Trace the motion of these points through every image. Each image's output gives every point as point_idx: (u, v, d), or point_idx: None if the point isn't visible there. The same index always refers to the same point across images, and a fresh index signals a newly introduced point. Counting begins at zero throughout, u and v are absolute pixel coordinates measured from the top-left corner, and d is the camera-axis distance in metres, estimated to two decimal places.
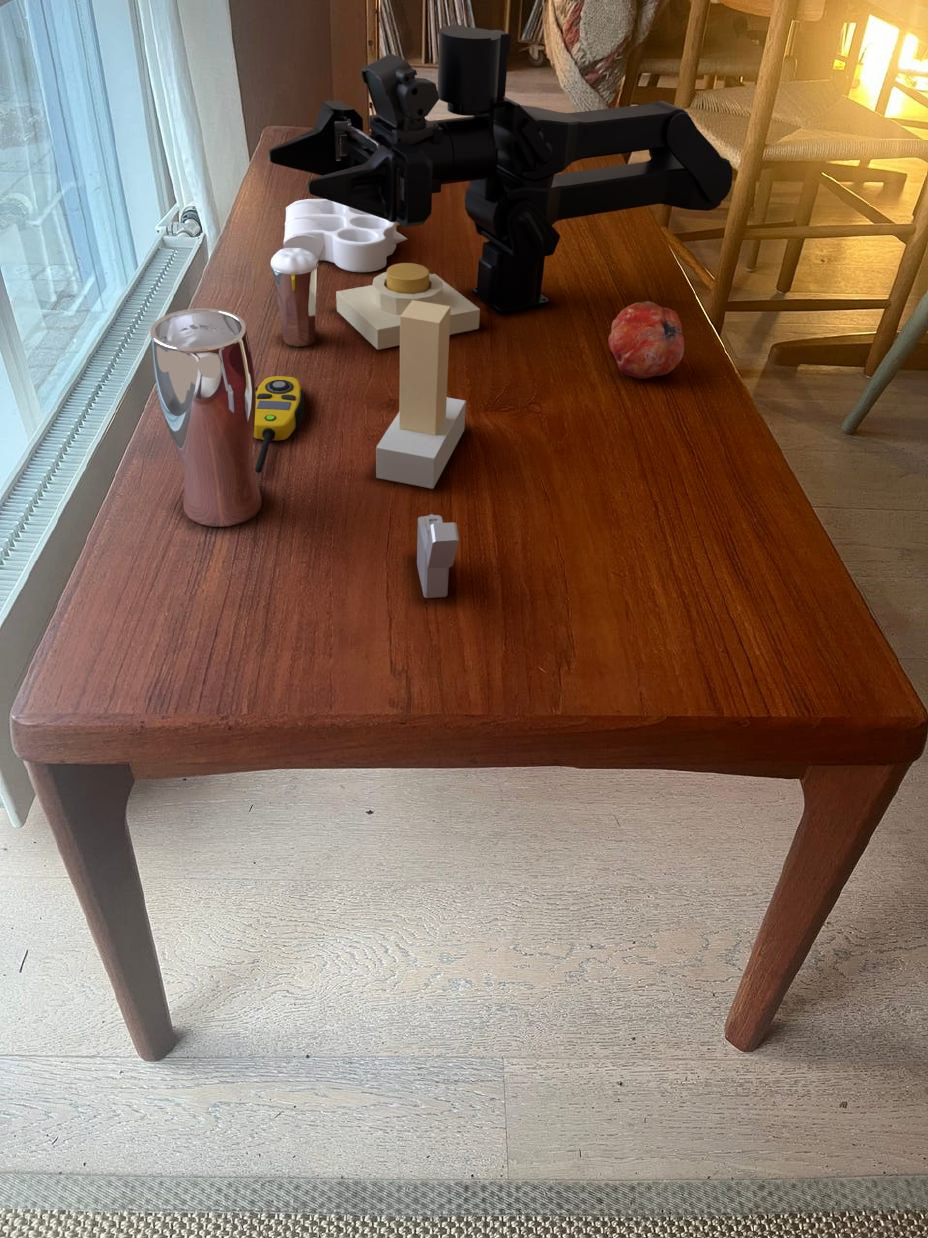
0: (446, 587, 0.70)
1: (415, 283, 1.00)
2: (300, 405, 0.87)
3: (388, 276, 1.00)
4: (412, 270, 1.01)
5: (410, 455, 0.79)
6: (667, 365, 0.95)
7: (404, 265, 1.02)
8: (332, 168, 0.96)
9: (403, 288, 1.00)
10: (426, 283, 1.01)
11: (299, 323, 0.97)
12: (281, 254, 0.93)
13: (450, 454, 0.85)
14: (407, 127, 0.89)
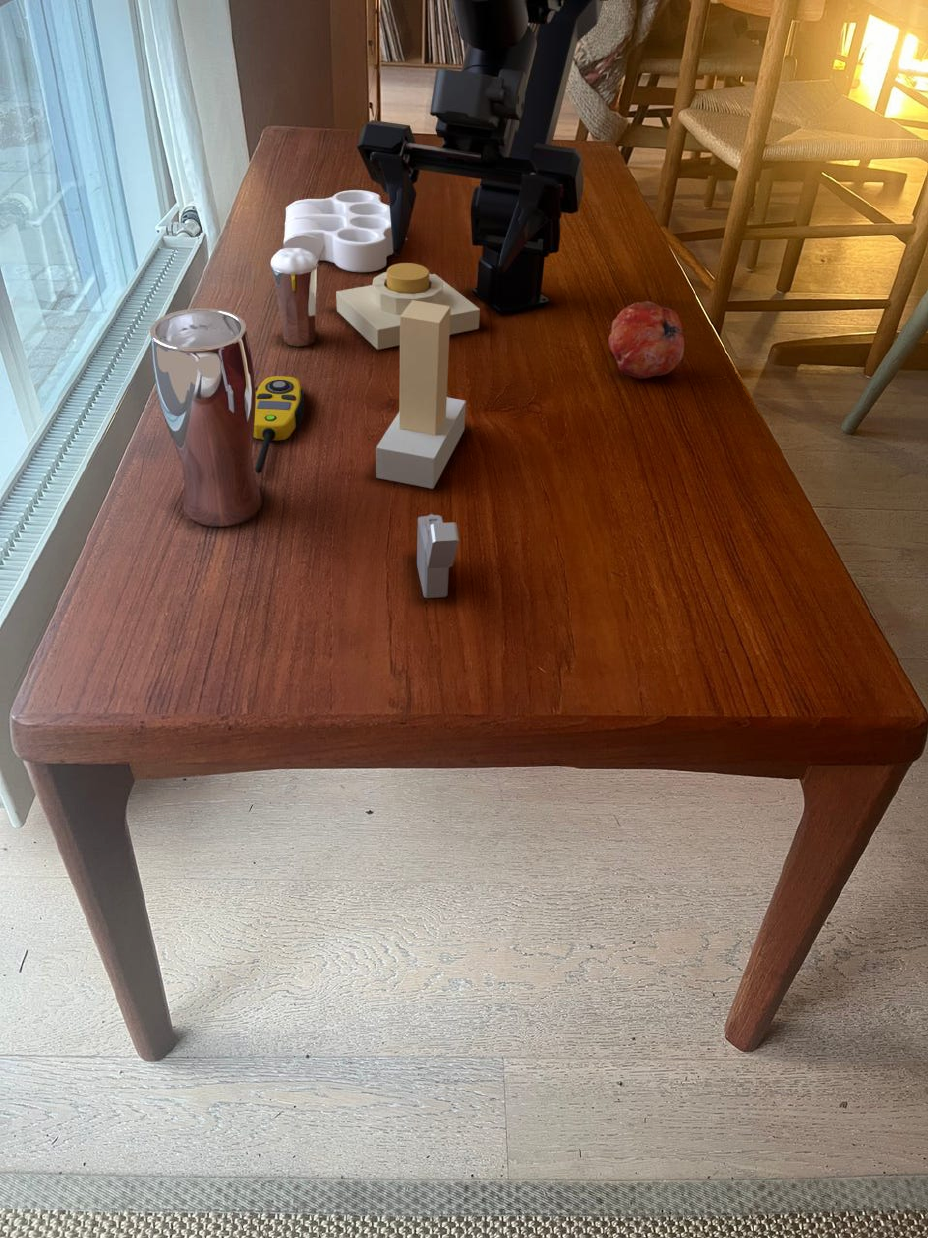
0: (446, 587, 0.70)
1: (415, 283, 1.00)
2: (300, 405, 0.87)
3: (388, 276, 1.00)
4: (412, 270, 1.01)
5: (410, 455, 0.79)
6: (667, 365, 0.95)
7: (404, 265, 1.02)
8: (414, 192, 0.85)
9: (403, 288, 1.00)
10: (426, 283, 1.01)
11: (299, 323, 0.97)
12: (281, 254, 0.93)
13: (450, 454, 0.85)
14: (503, 121, 0.79)
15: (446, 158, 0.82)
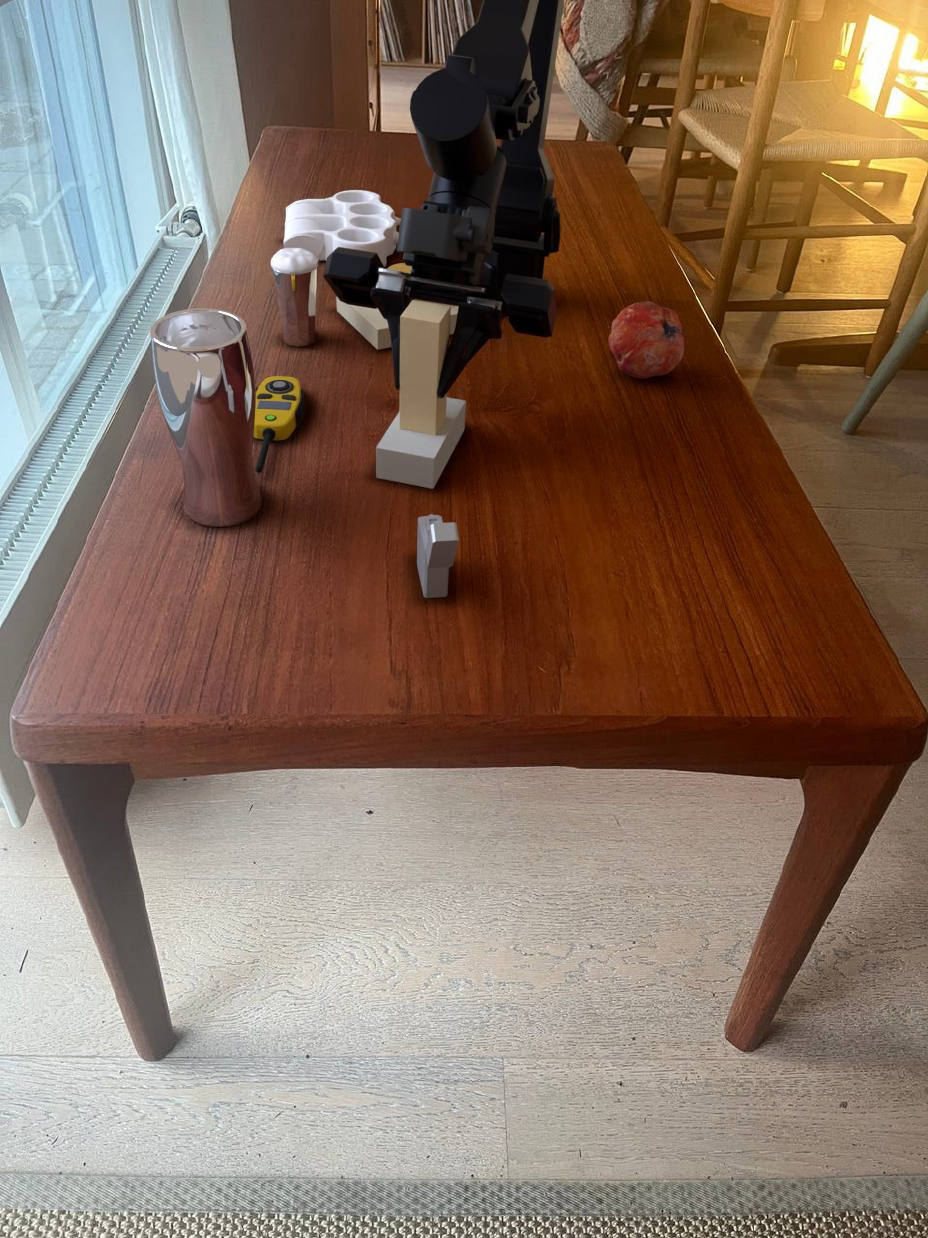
0: (446, 587, 0.70)
1: None
2: (300, 405, 0.87)
3: None
4: None
5: (410, 454, 0.79)
6: (667, 365, 0.95)
7: (404, 265, 1.02)
8: None
9: None
10: None
11: (299, 323, 0.97)
12: (281, 254, 0.93)
13: (450, 454, 0.85)
14: (472, 253, 0.76)
15: (415, 285, 0.80)
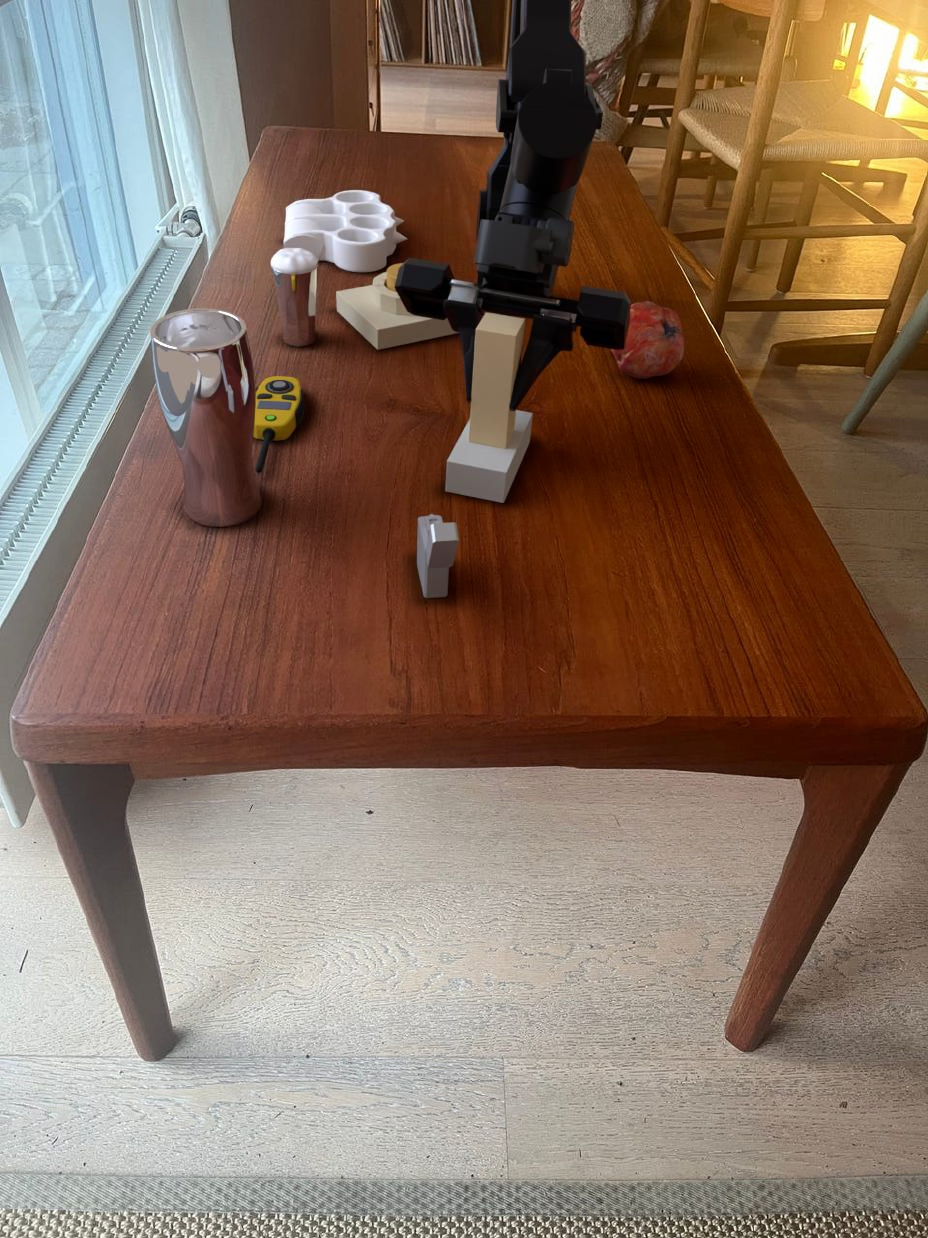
0: (446, 587, 0.70)
1: None
2: (300, 405, 0.87)
3: (388, 276, 1.00)
4: None
5: (482, 468, 0.78)
6: (667, 365, 0.95)
7: None
8: None
9: None
10: None
11: (299, 323, 0.97)
12: (281, 254, 0.93)
13: (518, 467, 0.84)
14: (548, 265, 0.75)
15: (487, 296, 0.79)
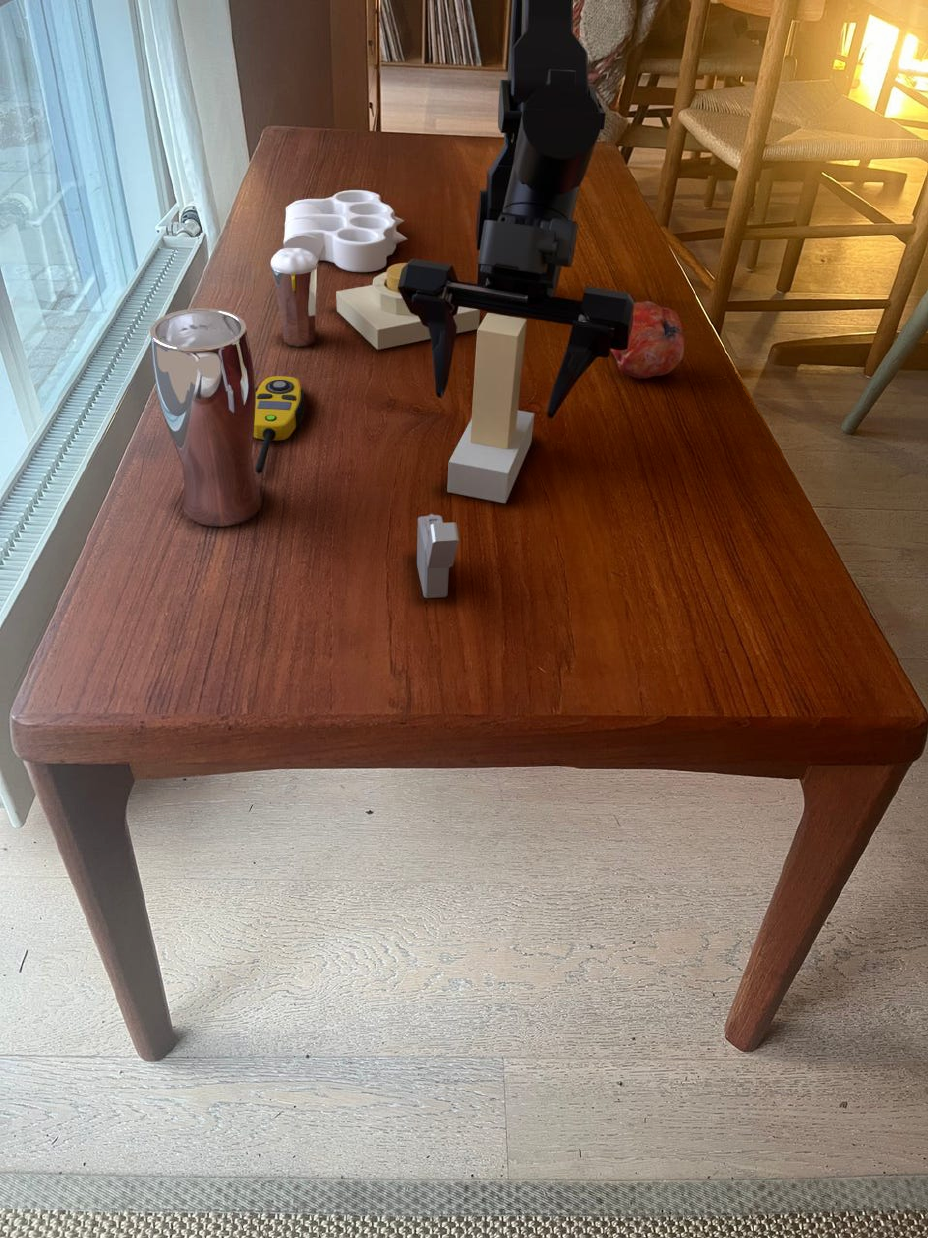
0: (446, 587, 0.70)
1: None
2: (300, 405, 0.87)
3: (388, 276, 1.00)
4: None
5: (483, 469, 0.78)
6: (667, 365, 0.95)
7: (404, 265, 1.02)
8: (455, 327, 0.82)
9: None
10: None
11: (299, 323, 0.97)
12: (281, 254, 0.93)
13: (519, 468, 0.84)
14: (552, 265, 0.75)
15: (490, 297, 0.79)
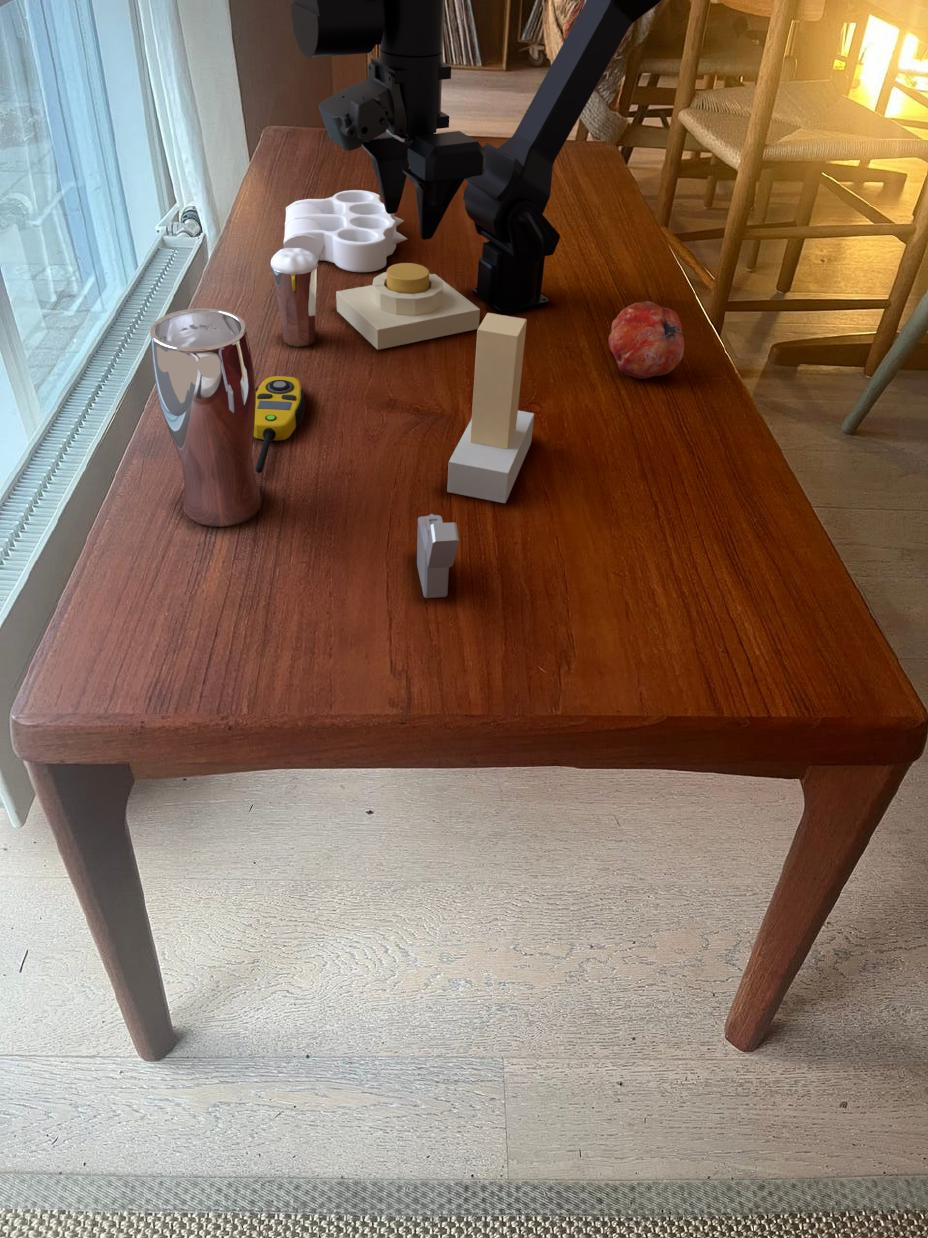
0: (446, 587, 0.70)
1: (415, 283, 1.00)
2: (300, 405, 0.87)
3: (388, 276, 1.00)
4: (412, 270, 1.01)
5: (484, 469, 0.78)
6: (667, 365, 0.95)
7: (404, 265, 1.02)
8: None
9: (403, 288, 1.00)
10: (426, 283, 1.01)
11: (299, 323, 0.97)
12: (281, 254, 0.93)
13: (519, 468, 0.84)
14: (390, 119, 0.88)
15: None
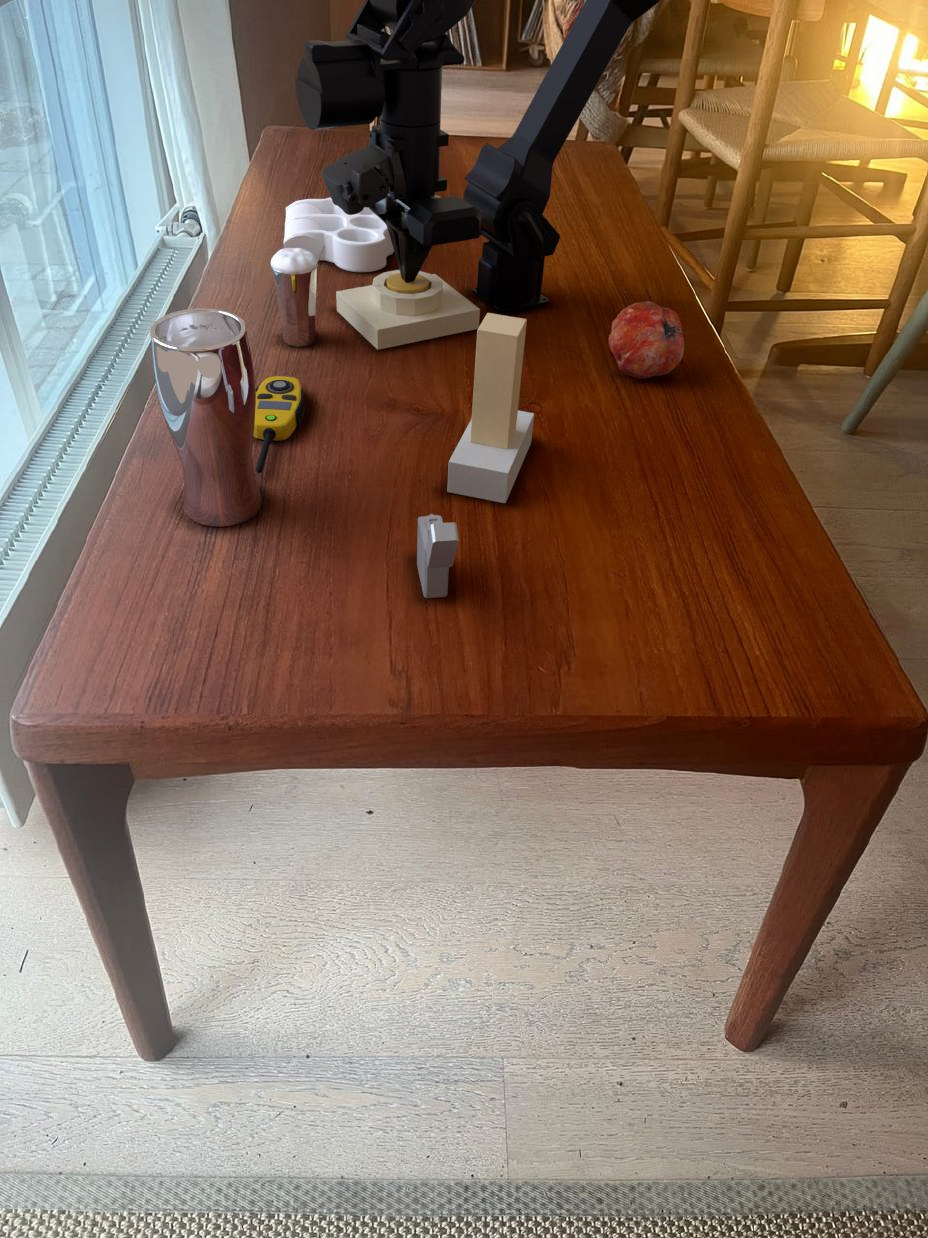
0: (446, 587, 0.70)
1: (415, 293, 1.01)
2: (301, 405, 0.87)
3: (388, 286, 1.01)
4: None
5: (484, 469, 0.78)
6: (667, 365, 0.95)
7: None
8: None
9: None
10: None
11: (299, 323, 0.97)
12: (281, 254, 0.93)
13: (519, 468, 0.84)
14: (390, 185, 0.92)
15: None
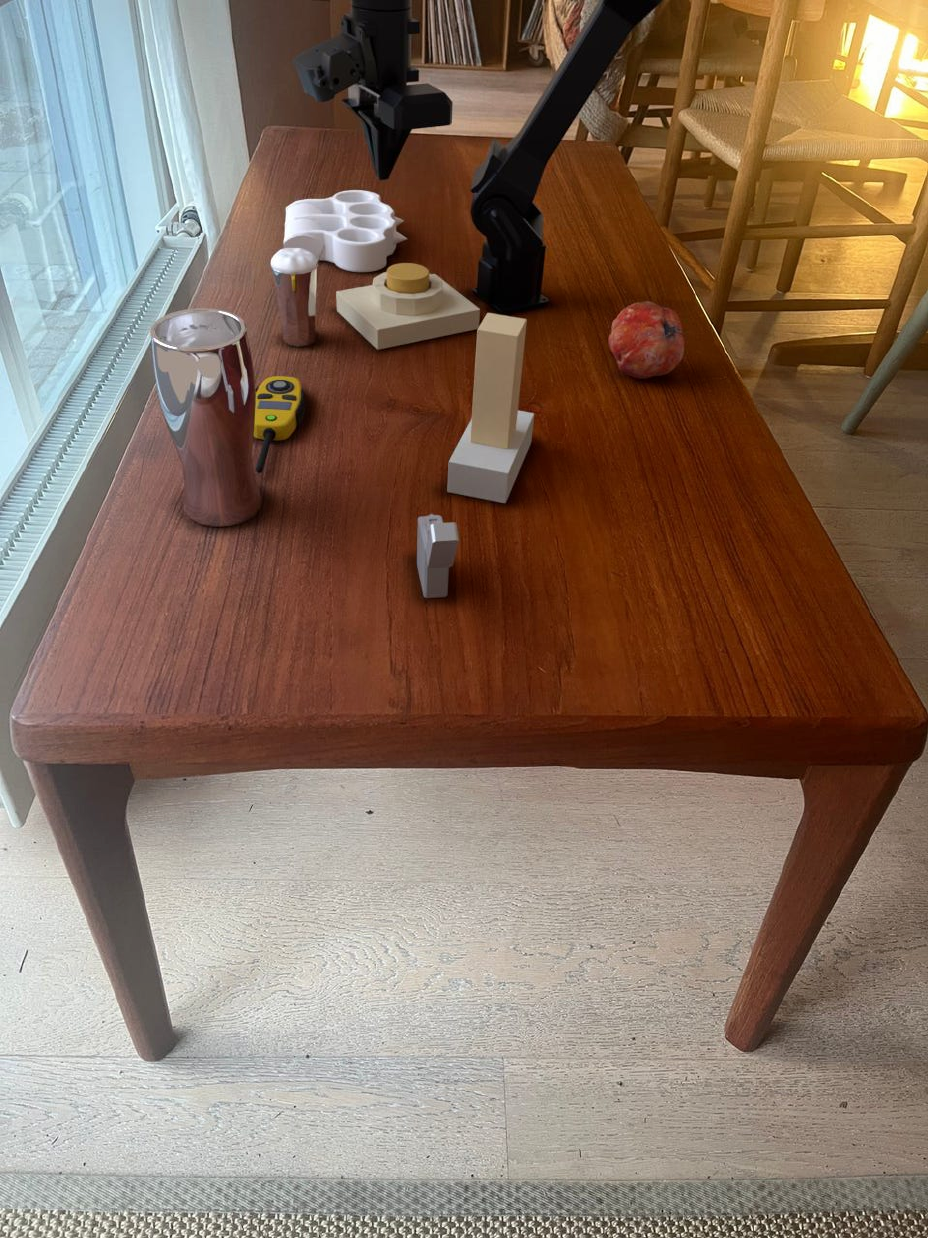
0: (446, 587, 0.70)
1: (415, 283, 1.00)
2: (301, 405, 0.87)
3: (388, 276, 1.00)
4: (412, 270, 1.01)
5: (484, 469, 0.78)
6: (667, 365, 0.95)
7: (404, 265, 1.02)
8: None
9: (403, 288, 1.00)
10: (426, 283, 1.01)
11: (299, 323, 0.97)
12: (281, 254, 0.93)
13: (519, 468, 0.84)
14: (361, 72, 0.92)
15: None
